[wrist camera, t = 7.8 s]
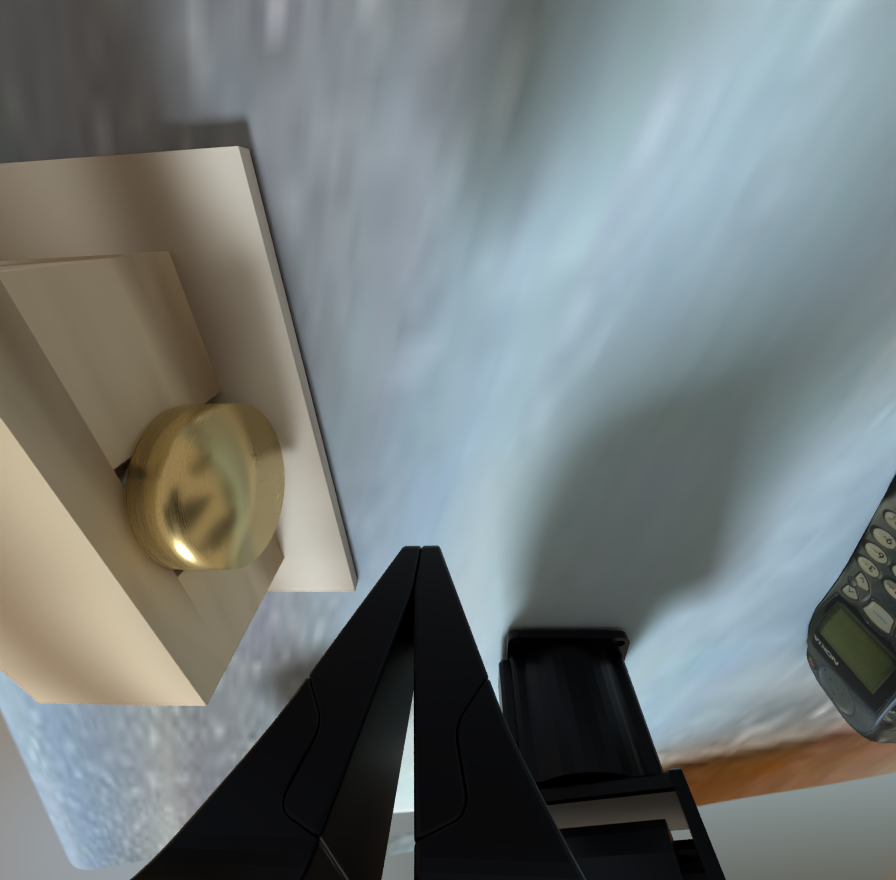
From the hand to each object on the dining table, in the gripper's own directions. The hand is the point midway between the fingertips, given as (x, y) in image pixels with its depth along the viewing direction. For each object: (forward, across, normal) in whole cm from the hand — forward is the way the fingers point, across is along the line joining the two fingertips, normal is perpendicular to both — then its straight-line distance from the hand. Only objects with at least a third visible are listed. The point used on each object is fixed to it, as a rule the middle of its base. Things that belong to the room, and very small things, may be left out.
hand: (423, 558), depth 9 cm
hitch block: (+7, +9, 0) cm, 12 cm away
